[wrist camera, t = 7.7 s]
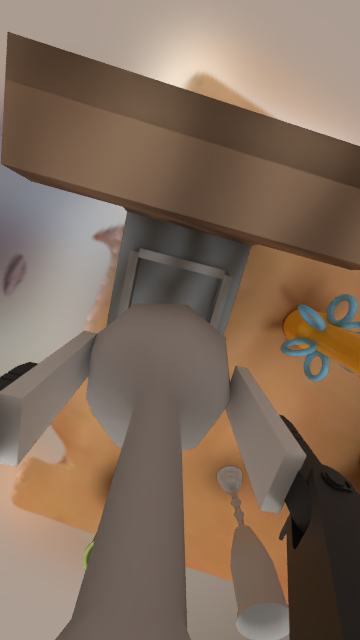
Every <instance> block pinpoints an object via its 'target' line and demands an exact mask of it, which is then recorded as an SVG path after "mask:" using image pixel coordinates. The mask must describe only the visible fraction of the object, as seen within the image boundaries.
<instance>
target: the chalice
mask: <svg viewBox="0 0 360 640" xmlns="http://www.w3.org/2000/svg"><path fill="white" fill-rule="evenodd" d="M217 481H218V482H219V483H220V485H221V487H222V488H223V490H224V491H225V492H227V493H228V494H231V495H232V501H231V504H232V506H234V508H235V513H234V516H235V517H236V518H237V521H238V524H239V526H238V527H237V528H236V529H235V532H234V538H233V543H232V549H231V565H230V567H231V573H232V578H233V584H234V590H235V595H236V601H237V606H238V612H237V620H236V625H237V629H238V630H239V632H240V633H241V634H242V635H243V636H245V637H247V638H248V639H251V640H277V639H280V638H282V637H284V636H286V635H287V634H289V606H288V604H287V603H286V600H285V597H284V594H283V591H282V588H281V585H280V582H279V579H278V575H277V572H276V569H275V566H274V563H273V561H272V559H271V558H270V556H269V554H268V552H267V551H266V549H265V547H264V546H263V544H262V542H261V541H260V540H259V538H258V537H257V536H256V534H255V533H254V532H253V530H252V529H251V528H250V527H249V526H247V525H245V524H244V521H243V516H244V513H243V512H242V511H241V509H240V504H241V501H240V500H239V499H238V497H237V492H238V491H239V490H240V488H241V483H242V472H241V470H240V469H238V468H237V467H234V466H226V467H224V468H222V469H221V470H219V472H218V473H217Z"/></svg>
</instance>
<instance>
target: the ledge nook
mask: <svg viewBox="0 0 360 640" xmlns="http://www.w3.org/2000/svg"><path fill="white" fill-rule="evenodd" d="M7 37H8V38H7V55H6V56H7V57H6V75H5V94H4V114H3V134H2V154H1V164H2V165H4V166H6V167H8V168H9V169H11V170H13V171H15V172H16V173H18V174H20V175H22V176H23V177H25V178H27V179H28V180H30V181H33V182H36V183H40V184H43V185H47V186H51V187H54V188H58V189H61V190H65V191H69V192H73V193H76V194H80V195H83V196H87V197H91V198H94V199H97V200H101V201H105V202H108V203H112V204H115V205H119V206H123V207H124V208H125V210H126V211H127V216H126V221H125V227H124V232H123V238H122V243H121V249H120V255H119V260H118V266H117V271H116V277H115V282H114V288H113V293H112V299H111V304H110V310H109V315H108V321H107V326H108V325H109V324H110V323H112V322H113V321H114V320H115V319H117V318H118V317H119V316H120V315H121V314H123V313H124V312H125V311H126V310H128V309H129V308H130V307H131V306H133V305H134V304H135V303H142V304H176V305H189V306H190V307H191V308H192V309H193V310H195V311H196V312H197V313H198V314H199V315H200V316H201V317H202V318H204V319H205V320H206V321H207V322H208V323H209V324H210V325H211V326H213V327H214V328H215V329H216V330H217V331H218V332H219V333H220V334H222V335H223V334H224V331H225V328H226V325H227V322H228V318H229V315H230V312H231V309H232V306H233V303H234V300H235V296H236V293H237V290H238V287H239V284H240V281H241V277H242V274H243V271H244V268H245V265H246V262H247V259H248V255H249V252H250V249H251V246H253V245H257V244H259V245H263V246H267V247H270V248H274V249H277V250H281V251H285V252H288V253H292V254H295V255H299V256H303V257H306V258H310V259H313V260H317V261H321V262H324V263H328V264H331V265H335V266H339V267H342V268H346V269H349V270H360V146H357V145H354V144H351V143H348V142H345V141H342V140H339V139H336V138H333V137H330V136H326V135H324V134H320V133H317V132H314V131H311V130H308V129H305V128H302V127H299V126H296V125H293V124H290V123H287V122H284V121H281V120H277V119H274V118H271V117H268V116H265V115H262V114H259V113H256V112H253V111H250V110H247V109H244V108H241V107H238V106H234V105H231V104H228V103H225V102H222V101H219V100H216V99H213V98H210V97H207V96H204V95H201V94H198V93H194V92H191V91H188V90H185V89H182V88H179V87H176V86H173V85H169V84H166V83H163V82H160V81H158V80H155V79H151V78H148V77H145V76H142V75H139V74H136V73H133V72H130V71H127V70H124V69H121V68H118V67H114V66H111V65H108V64H105V63H102V62H99V61H96V60H93V59H90V58H87V57H84V56H81V55H78V54H75V53H72V52H68V51H65V50H62V49H59V48H56V47H53V46H50V45H47V44H44V43H41V42H38V41H35V40H32V39H28V38H25V37H22V36H19V35H16V34H13V33H10V32H8V35H7Z"/></svg>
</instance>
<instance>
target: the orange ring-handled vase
mask: <svg viewBox="0 0 360 640" xmlns="http://www.w3.org/2000/svg"><path fill="white" fill-rule="evenodd" d="M344 300H346V301H348V303H349V311H348V313H347V315H346V316H345V317H344V318H343V319H342V320H339V321H337V320H335V319H334V310H335V308H336V306H337V305H338V304H339V303H340V302H341V301H344ZM356 312H357V302H356V300H355V298H354V297H353V296H351V295H347V294H344V295H340V296H338V297H336V298H335V299H334V300H333V301H332V302H331V303H330V305H329V307H328V310H327V314H324V313H321V312H318V311H315V310H313V309H312V308H310V307H309V306H307V305H304V304H301V305H299V306H298V308H297V310H295V311H293V312H291V313H290V314H289V315H288V317H287V318H286V320H285V322H284V325H283V330H284V334H285V336H286V338H287V339H288V341H286V342H284V343H283V344H282V346H281V351H282V352H283V353H284V354H286V355H289V356H305V355H308V356H307V357H306V359H305V362H304V372H305V375H306V376H307V378H308V379H310V380H311V381H320V380H322V379H323V378H324V377H325V376H326V375H327V373H328V370H329V360H328V357H329V358H330V359H332V360H334V361H335V362H337V363H338V364H339V365H340V366H341V367H343V368H344V369H345V370H347V371H348V372H350V373H353V374H357V375H358V376H360V332H352V331H349V330H347V329H350V328H356V327H360V322H351V323H349V322H350V321H351V320H352V319H353V318H354V316H355V314H356ZM291 345H296V346H298V347H299V348H301V349H302V350H290V349H287V348H288V347H289V346H291ZM316 356H319V357H320V358H321V360H322V368H321V371H320V372H319V374H317V375H315V376H314V375H312V374H311V371H310V363H311V361H312V359H313V358H314V357H316Z"/></svg>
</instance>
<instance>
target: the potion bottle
mask: <svg viewBox="0 0 360 640" xmlns="http://www.w3.org/2000/svg"><path fill="white" fill-rule="evenodd" d="M86 399H87V401H88V404H89V406H90V409H91V411H92V414H93V415H94V417H95V418H96V419H97V421H98V422H99V423H100V425H101V426H102V427H103V429H104V430H105V432H106V433H107V434H108V436H109V437H110V438H111V440H112V441H113V442H114V444H115V445H116V446H117V447H120V448H122V449H121V453H120V456H119V460H118V463H117V466H116V470H115V473H114V476H113V480H112V483H111V487H110V490H109V493H108V497H107V500H106V504H105V507H104V510H103V514H102V517H101V521H100V524H99V527H98V531H97V534H96V537H95V541H94V544H93V548H92V551H91V554H90V558H89V561H88V565H87V568H86V571H85V575H84V578H83V582H82V585H81V588H80V592H79V595H78V598H77V602H76V605H75V609H74V612H73V616H72V619H71V620H70V622H69V623H68V624H67V625H66V627H65V628H64V629H63V631H62V632H61V633H60V634H59V636H58V637H57V638H56V639H55V640H191V639H190V637H189V634H188V632H187V611H186V577H185V544H184V511H183V477H182V451H185V450H189V449H192V448H196V447H197V446H198V444H199V443H200V442H201V440H202V439H203V438H204V436H205V435H206V434H207V432H208V431H209V430H210V429H211V427H212V426H213V425H214V423H215V422H216V421H217V419H218V418H219V417H220V415H221V414H222V412H223V411H224V409H225V408H226V406H227V404H228V403H229V401H230V379H229V369H228V358H227V348H226V338H225V337H224V336H223V335H222V334H220V333H219V332H218V331H217V330H216V329H215V328H214V327H213V326H211V325H210V324H209V323H208V322H207V321H206V320H205V319H204V318H202V317H201V316H200V315H199V314H198V313H197V312H196V311H195V310H193V309H192V308H191V307H190V306H189V305H176V304H142V303H135V304H134V305H133V306H131V307H130V308H129V309H128V310H126V311H125V312H124V313H123V314H121V315H120V316H119V317H118V318H117V319H115V320H114V321H113V322H112V323H110V324H109V325H108V326H107V327H105V328H104V329H103V330H102V331H100V332H99V333H98V334H97V335H96V338H95V341H94V345H93V348H92V352H91V360H90V368H89V377H88V385H87V393H86Z"/></svg>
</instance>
